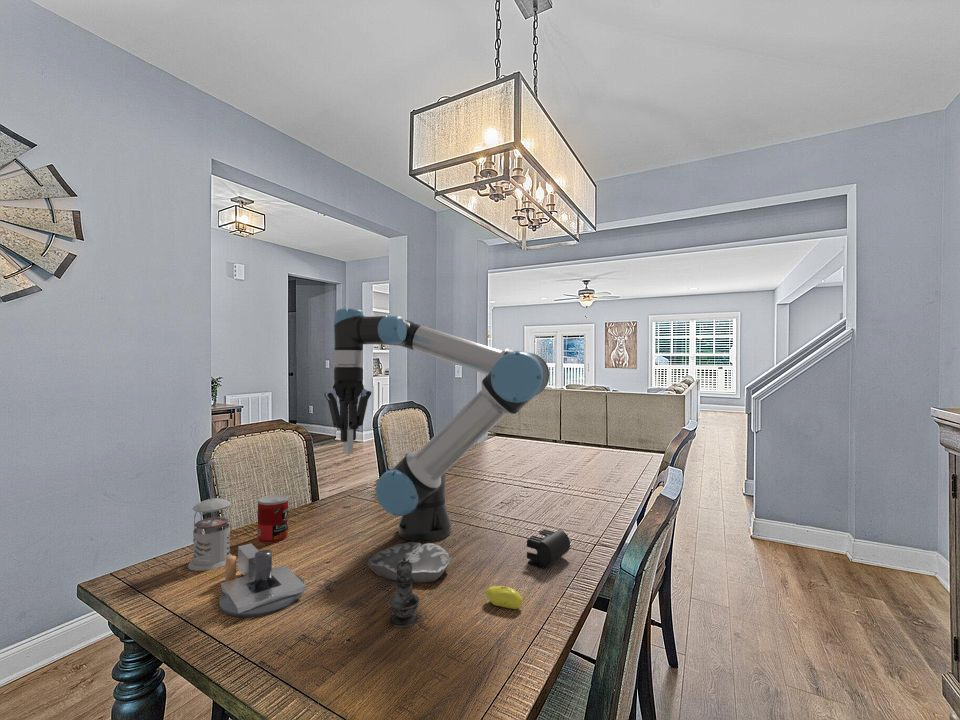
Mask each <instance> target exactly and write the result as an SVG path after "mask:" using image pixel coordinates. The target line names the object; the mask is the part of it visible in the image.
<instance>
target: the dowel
mask: <svg viewBox="0 0 960 720" xmlns="http://www.w3.org/2000/svg"><path fill="white" fill-rule="evenodd" d="M233 579H237V556H236V555H233V556H229V557H227V558H226V565H225V582H226V581H230V580H233Z"/></svg>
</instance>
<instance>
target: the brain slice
mask: <svg viewBox="0 0 960 720" xmlns="http://www.w3.org/2000/svg"><path fill="white" fill-rule="evenodd" d="M404 557H405V558H406V561H409V562H410V563H411V564H412V578H413V579H414V582H413V583H431V582H432V583H433V582H435V581H436V580H438V579H439V578H441V576H442V575H443V574H444V572H445V571H446V570H447V568H448V566H449V565H450V564H451V562H452V560H453V557H452V556H450V553H449V552H448V551H446V549H445V548H443V547H442V546H441V545H439V544H436V543H433V542H426V543H423V544H422V542H418V541H408V542H405V543H397V544H395V545H393V546H388V547H387V548H384V549H381V550H377V551H376V552H374V553H372V554H371V555H370V556H369V558H368V559H367V565H368V567H369V569H370V570H371V571H372V572H373V573H374V574H375V575H376V576H379V577H384V578H385V579H388V580H391V581H394V582H395V580H396V579H397V565H398V563H399V562H401V561H403V558H404ZM413 583H412V584H413Z"/></svg>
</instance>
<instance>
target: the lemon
mask: <svg viewBox="0 0 960 720" xmlns="http://www.w3.org/2000/svg"><path fill="white" fill-rule="evenodd" d="M484 592H485V593H484V594H485V597H486V598H487V599H488V600H489V601H490V602H491V603H492V605H494V606H497V607H502V608H506V609H512V610H517V609H519V608H521V607H522V605H523V596H521V594H520V593H519V592H518V591H517V589H514V588H512V587H508V586H506V585H496V586H495V585H494V586H493V585H492V586H489V587H487V589H486V590H485V591H484Z"/></svg>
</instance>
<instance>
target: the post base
mask: <svg viewBox="0 0 960 720" xmlns="http://www.w3.org/2000/svg"><path fill="white" fill-rule="evenodd" d="M258 551H259V552H257V553H255V586H252V587H249V590H250V591H251V592H252V594H255V593H258V592H261V591H264V590H268V589H271V588H274V587H277V586H278V585H277V584H276V583H275V582H274V581H273V580H272V568H273V551H272V550H271V549H262V550H258ZM295 575H296V576H297V577H298V578H299V579H300V580H301V581H302V582H303V583H304V584H305V581H304V579H303V578H302V577H301V576H300V575H297V574H295ZM304 592H305V591H303V592H300V593H297V594H294V595H292V596H289V597H286V598H283V599H280V600H277V601H274V602H271V603H268V604H265V605H262V606H259V607H256V608H253V609H250V610H247V611H244V612H241V613H237V612H236V610H235V609H234V607H233V606H232V604H231V603H230V601H229V599H228V598H227V596H226V595H225V593H224V592H223V591H222V593H221V594H220V596H219V599H218V600H219V601H218V602H219V604H218V605H219V606H218V607H219V609H220V611H221V612H222V614H225V615H226V616H230V617H234V618H255V617H262V616H265V615H270V614H274V613H277V612H279V611H282V610H283V609H286V608H288V607H289V606H291V605H293V604H294V603H296V602H297V601H298V600H299V599H300V598H302V595H304Z"/></svg>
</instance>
